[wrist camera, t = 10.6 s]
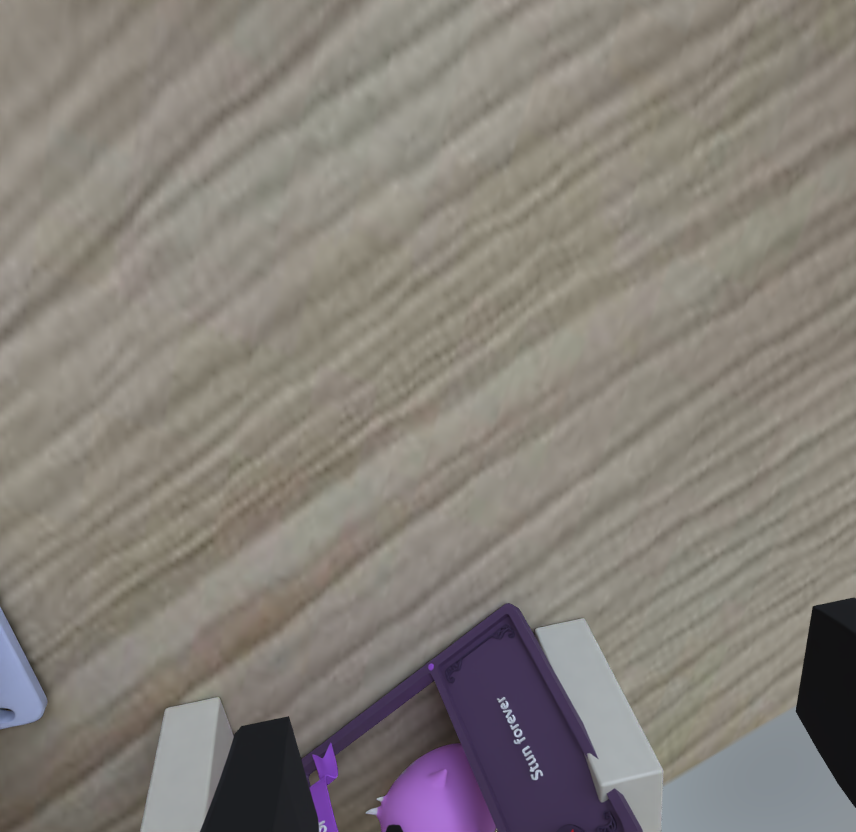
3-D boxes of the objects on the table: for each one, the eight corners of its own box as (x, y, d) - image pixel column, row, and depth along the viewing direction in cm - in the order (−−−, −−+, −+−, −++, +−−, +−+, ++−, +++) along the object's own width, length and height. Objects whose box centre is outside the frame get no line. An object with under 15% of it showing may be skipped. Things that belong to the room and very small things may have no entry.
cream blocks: (217, 836, 24) (197, 1033, 19) (164, 707, 21) (124, 898, 16) (589, 750, 25) (659, 915, 20) (584, 616, 22) (664, 770, 17)
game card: (630, 836, 16) (329, 1036, 17) (698, 846, 19) (444, 1011, 21) (497, 592, 21) (270, 767, 22) (573, 637, 24) (373, 785, 26)
